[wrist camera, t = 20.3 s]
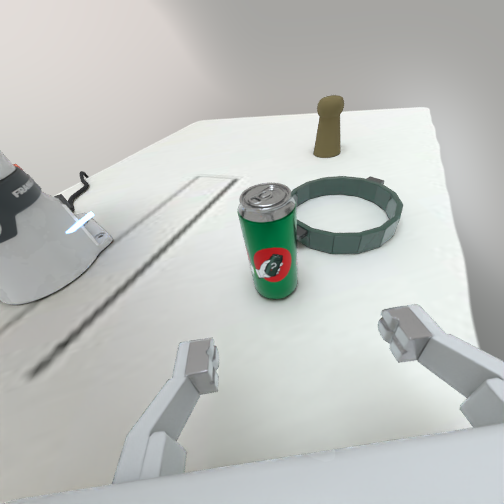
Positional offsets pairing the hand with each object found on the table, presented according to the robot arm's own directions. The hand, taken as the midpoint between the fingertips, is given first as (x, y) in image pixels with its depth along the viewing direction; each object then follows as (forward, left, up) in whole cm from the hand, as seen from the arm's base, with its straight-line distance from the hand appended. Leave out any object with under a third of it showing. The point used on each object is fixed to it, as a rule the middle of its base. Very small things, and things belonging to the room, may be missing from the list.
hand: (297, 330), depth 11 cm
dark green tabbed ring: (-13, +21, -11) cm, 27 cm away
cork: (-31, +40, -11) cm, 52 cm away
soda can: (-10, +6, -11) cm, 16 cm away
